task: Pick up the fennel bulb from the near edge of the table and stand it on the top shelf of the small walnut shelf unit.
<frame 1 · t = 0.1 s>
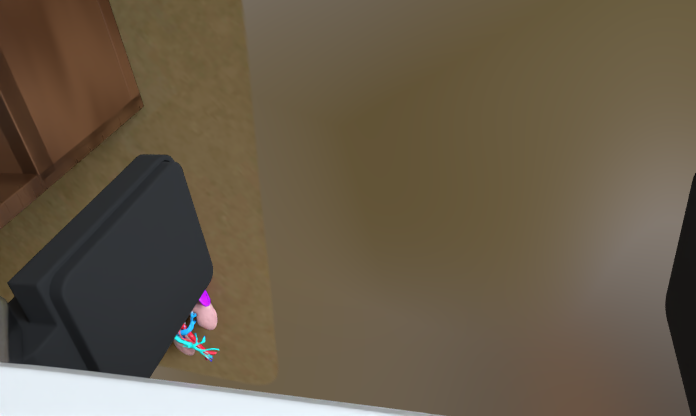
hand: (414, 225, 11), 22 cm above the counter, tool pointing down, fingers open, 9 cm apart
anatomy model: (193, 311, 50), on the counter
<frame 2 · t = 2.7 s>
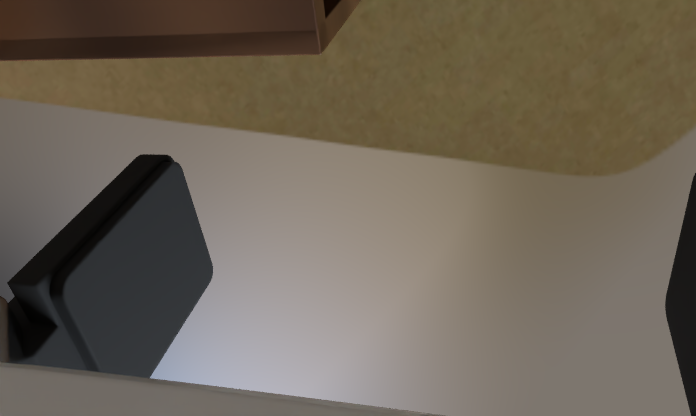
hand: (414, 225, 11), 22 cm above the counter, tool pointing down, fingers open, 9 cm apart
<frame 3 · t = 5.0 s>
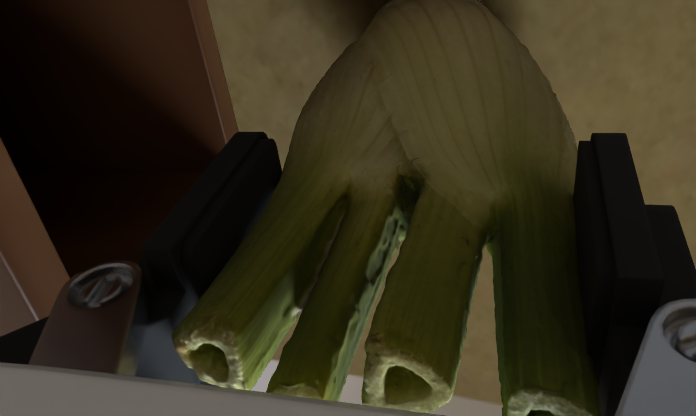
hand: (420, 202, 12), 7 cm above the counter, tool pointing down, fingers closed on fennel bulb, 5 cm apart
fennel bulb: (447, 65, 18), on the counter, touching gripper
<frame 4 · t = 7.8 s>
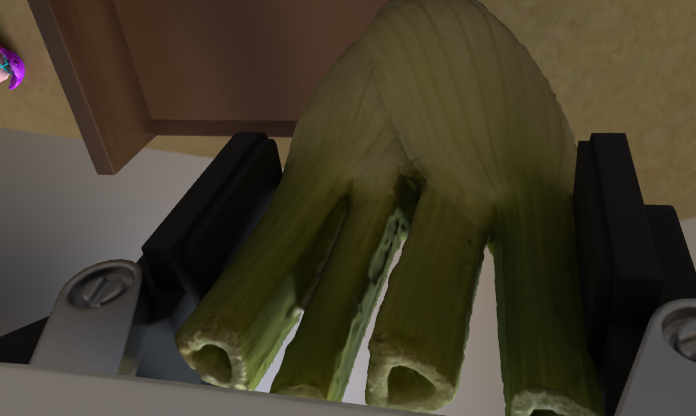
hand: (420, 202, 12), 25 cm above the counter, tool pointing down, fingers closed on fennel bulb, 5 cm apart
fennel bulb: (447, 65, 18), point 18 cm above the counter, touching gripper
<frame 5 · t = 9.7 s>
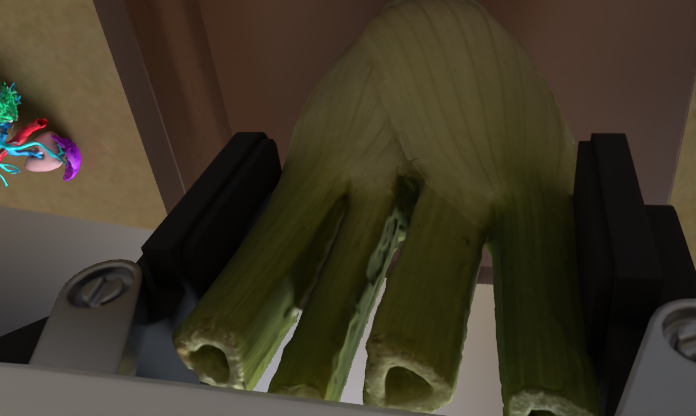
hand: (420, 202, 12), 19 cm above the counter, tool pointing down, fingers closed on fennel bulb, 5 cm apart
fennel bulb: (446, 65, 18), point 12 cm above the counter, touching gripper
anatomy model: (30, 124, 39), on the counter
when the fingers open (17 cm above the counter, at t = 10.9 s): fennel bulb stays where it is, resting on shelf.
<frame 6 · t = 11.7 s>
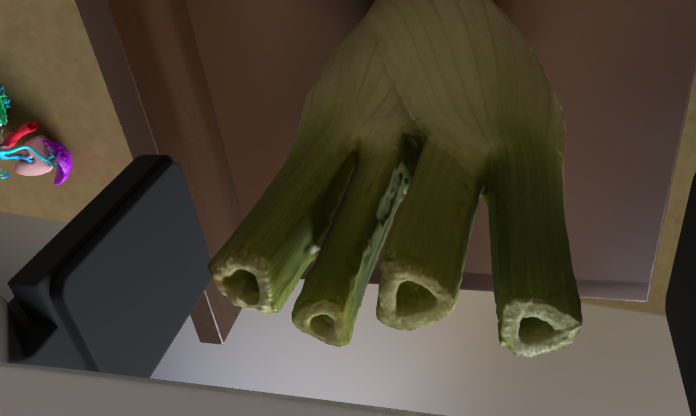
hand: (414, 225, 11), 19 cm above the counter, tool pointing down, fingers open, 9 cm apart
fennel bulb: (444, 45, 19), point 10 cm above the counter, touching shelf
anatomy model: (20, 128, 38), on the counter
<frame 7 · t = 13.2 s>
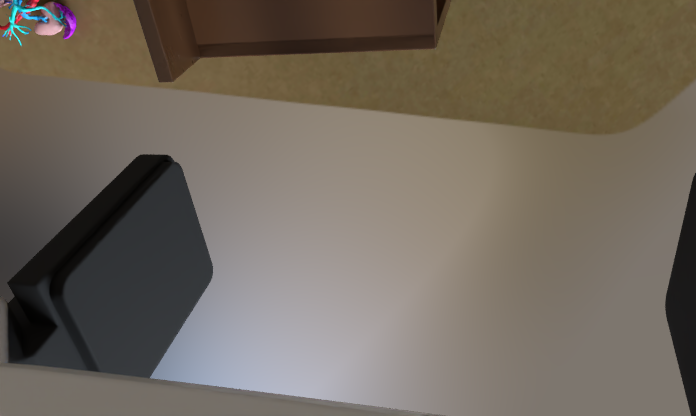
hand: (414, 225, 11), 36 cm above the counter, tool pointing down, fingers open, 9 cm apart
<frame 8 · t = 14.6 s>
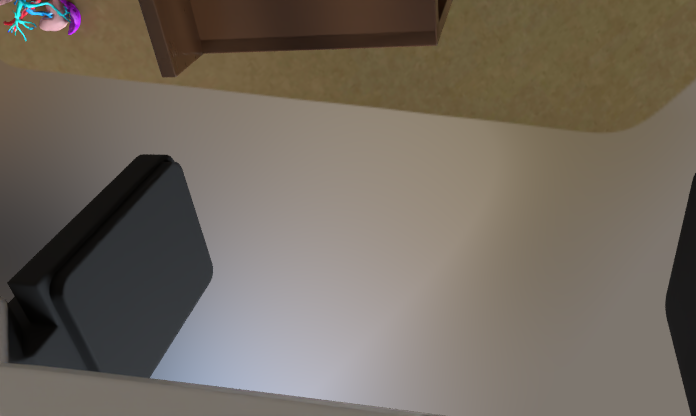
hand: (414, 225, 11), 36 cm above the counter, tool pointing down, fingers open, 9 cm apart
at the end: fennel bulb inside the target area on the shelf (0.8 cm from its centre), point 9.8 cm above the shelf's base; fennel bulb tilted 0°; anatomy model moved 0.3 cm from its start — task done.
